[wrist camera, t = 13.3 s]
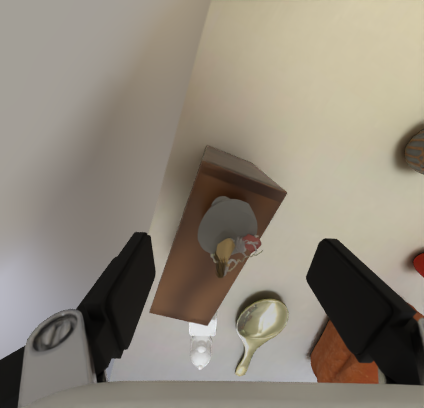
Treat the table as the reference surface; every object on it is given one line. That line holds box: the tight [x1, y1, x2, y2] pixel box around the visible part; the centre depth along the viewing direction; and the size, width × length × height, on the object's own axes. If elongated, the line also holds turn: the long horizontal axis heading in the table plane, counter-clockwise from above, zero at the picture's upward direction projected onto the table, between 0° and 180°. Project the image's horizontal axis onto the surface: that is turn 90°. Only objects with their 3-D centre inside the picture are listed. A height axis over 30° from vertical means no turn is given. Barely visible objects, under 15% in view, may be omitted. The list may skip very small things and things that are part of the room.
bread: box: [311, 304, 424, 384], centre depth 35 cm, size 16×27×11 cm, turn 177°
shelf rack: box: [149, 145, 287, 326], centre depth 21 cm, size 7×18×12 cm, turn 159°
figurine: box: [198, 196, 263, 278], centre depth 11 cm, size 5×4×6 cm
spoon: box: [235, 299, 288, 376], centre depth 41 cm, size 35×11×2 cm, turn 174°
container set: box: [189, 311, 217, 370], centre depth 36 cm, size 20×5×6 cm, turn 177°
